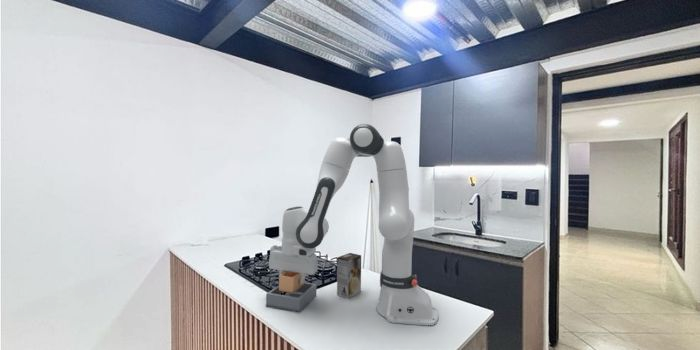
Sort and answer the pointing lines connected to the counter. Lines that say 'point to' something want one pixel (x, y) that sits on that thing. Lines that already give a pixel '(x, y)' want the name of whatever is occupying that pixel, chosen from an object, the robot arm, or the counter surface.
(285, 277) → the orange crate
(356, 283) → the coffee box
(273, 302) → the grey crate
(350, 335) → the counter surface
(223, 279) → the counter surface
